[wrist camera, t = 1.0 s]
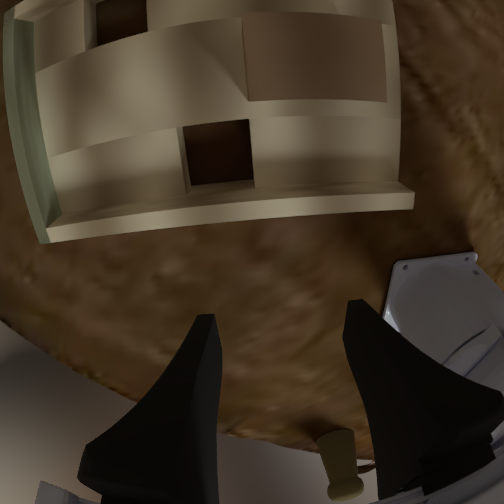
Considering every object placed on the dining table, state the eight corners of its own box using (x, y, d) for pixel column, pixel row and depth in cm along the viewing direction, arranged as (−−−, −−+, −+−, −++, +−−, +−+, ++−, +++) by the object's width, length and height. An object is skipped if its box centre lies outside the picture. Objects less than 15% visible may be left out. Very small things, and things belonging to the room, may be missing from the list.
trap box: (373, -31, 11) (400, -50, 7) (385, 187, 19) (412, 209, 15) (37, 19, 11) (4, 13, 8) (67, 218, 19) (40, 244, 16)
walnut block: (351, 34, 12) (381, 20, 9) (355, 99, 14) (387, 102, 11) (241, 32, 12) (241, 13, 9) (247, 100, 14) (249, 101, 11)
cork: (311, 446, 39) (320, 506, 29) (323, 431, 36) (335, 497, 26) (345, 443, 39) (357, 500, 30) (360, 427, 36) (376, 489, 27)
